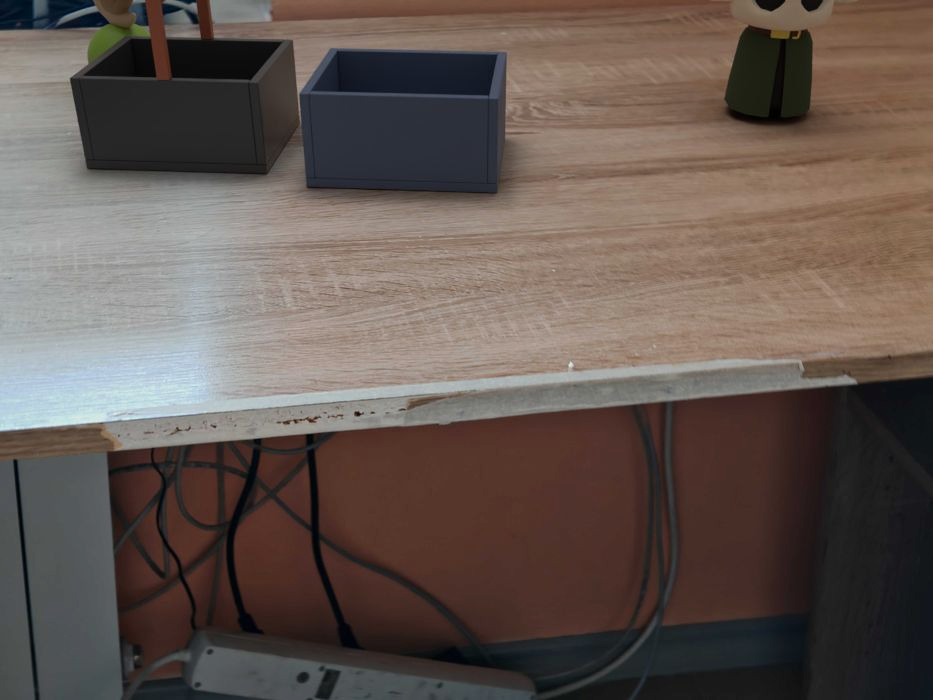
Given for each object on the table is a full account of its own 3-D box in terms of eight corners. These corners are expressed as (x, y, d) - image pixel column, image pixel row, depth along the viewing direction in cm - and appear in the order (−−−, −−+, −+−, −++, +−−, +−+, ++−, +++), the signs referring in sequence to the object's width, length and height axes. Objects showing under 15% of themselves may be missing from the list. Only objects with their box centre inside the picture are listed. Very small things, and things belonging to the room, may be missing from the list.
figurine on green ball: (135, 76, 88) (110, -81, 82) (180, 92, 84) (157, -70, 78) (74, 90, 85) (43, -71, 79) (117, 109, 81) (88, -60, 75)
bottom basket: (306, 187, 68) (298, 93, 65) (335, 132, 76) (330, 47, 73) (497, 193, 67) (498, 98, 64) (505, 137, 76) (506, 51, 73)
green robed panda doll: (697, 126, 78) (719, -65, 71) (686, 95, 84) (704, -84, 77) (851, 129, 77) (888, -64, 70) (829, 97, 83) (860, -83, 76)
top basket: (86, 168, 71) (51, -15, 65) (138, 118, 79) (111, -48, 73) (267, 173, 70) (248, -11, 64) (300, 122, 78) (286, -45, 72)
